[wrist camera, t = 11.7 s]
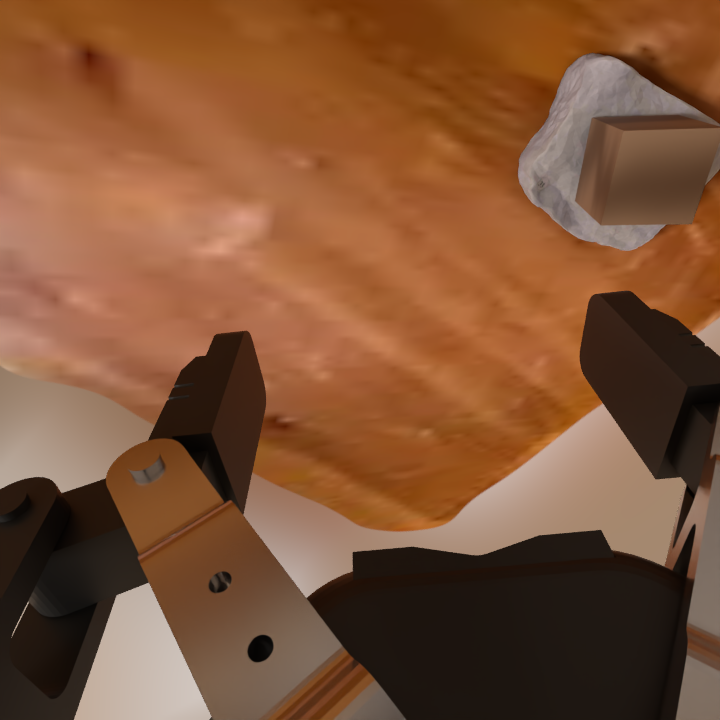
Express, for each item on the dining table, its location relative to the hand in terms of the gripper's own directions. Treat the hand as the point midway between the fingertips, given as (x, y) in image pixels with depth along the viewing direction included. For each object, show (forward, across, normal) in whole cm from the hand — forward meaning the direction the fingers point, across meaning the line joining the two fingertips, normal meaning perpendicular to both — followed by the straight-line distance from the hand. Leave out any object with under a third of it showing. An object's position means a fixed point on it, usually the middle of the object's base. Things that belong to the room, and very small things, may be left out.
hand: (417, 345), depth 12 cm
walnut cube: (+22, -16, +2) cm, 27 cm away
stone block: (+26, -16, +3) cm, 31 cm away
